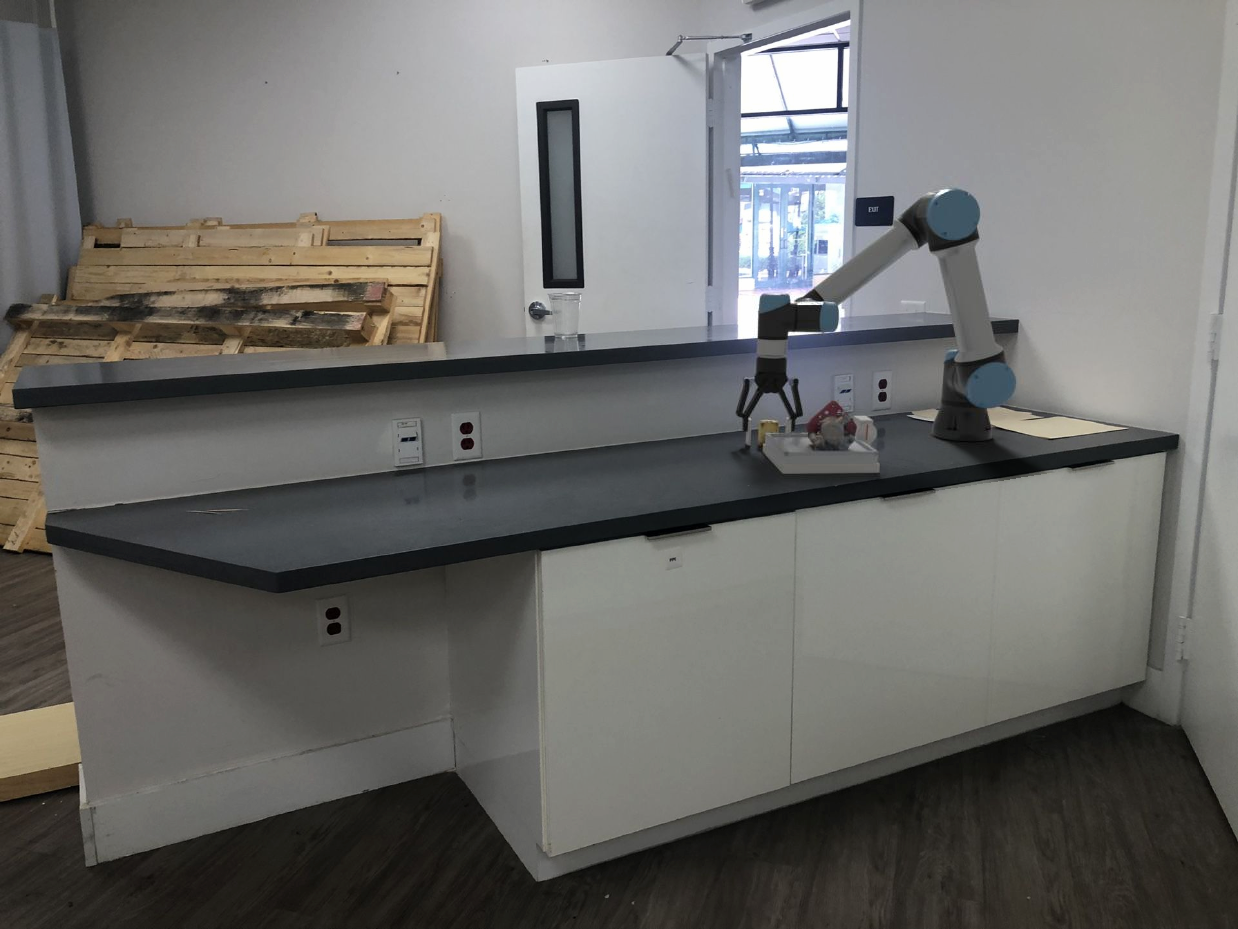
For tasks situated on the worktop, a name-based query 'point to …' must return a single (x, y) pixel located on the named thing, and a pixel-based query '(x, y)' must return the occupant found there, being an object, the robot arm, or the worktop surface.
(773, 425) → the brass spacer
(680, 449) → the worktop surface
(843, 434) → the brake caliper
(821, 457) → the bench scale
